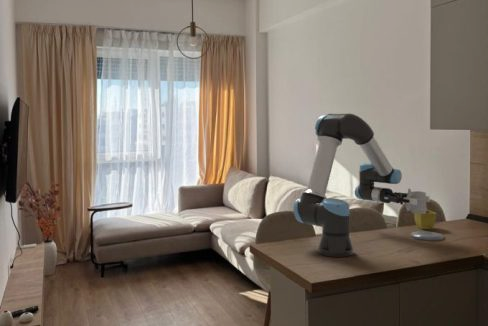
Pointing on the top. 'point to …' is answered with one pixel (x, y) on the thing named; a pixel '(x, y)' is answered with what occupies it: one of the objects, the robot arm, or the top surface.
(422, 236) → the trivet
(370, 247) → the top surface
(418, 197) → the mug
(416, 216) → the flower pot
